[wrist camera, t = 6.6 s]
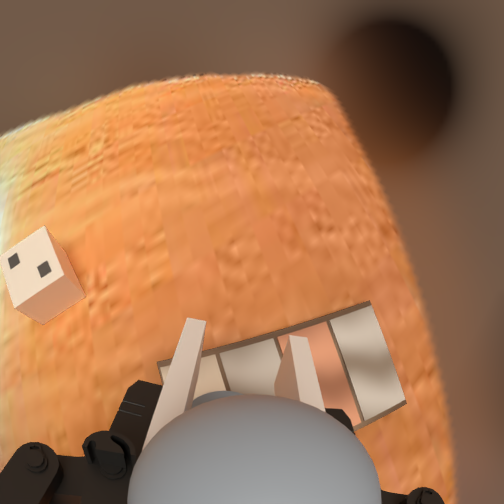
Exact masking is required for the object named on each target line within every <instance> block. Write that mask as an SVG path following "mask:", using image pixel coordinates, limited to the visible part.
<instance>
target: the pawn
mask: <svg viewBox="0 0 504 504" xmlns="http://www.w3.org/2000/svg"><path fill="white" fill-rule="evenodd" d="M127 503H128V504H381V489H380V483H379V478H378V474H377V471H376V469H375V466H374V463H373V461H372V459H371V458H370V456H369V454H368V453H367V451H366V449H365V448H364V446H363V445H362V443H361V442H360V441H359V440H358V438H357V437H356V436H355V435H354V434H353V433H352V432H351V431H350V430H349V429H348V428H347V427H346V426H345V425H343V424H342V423H341V422H339V421H338V420H336V419H335V418H333V417H332V416H331V415H329V414H328V413H326V412H324V411H322V410H320V409H318V408H316V407H314V406H311V405H309V404H306V403H303V402H301V401H297V400H293V399H289V398H285V397H280V396H272V395H259V394H247V395H244V394H241V393H238V392H233V391H214V392H209V393H206V394H203V395H201V396H199V397H197V398H195V399H194V400H193V402H192V407H191V409H189V410H187V411H185V412H184V413H182V414H180V415H179V416H177V417H175V418H174V419H173V420H171V421H170V422H169V423H167V424H166V425H165V426H164V427H162V428H161V429H160V430H159V431H158V432H157V433H156V435H155V436H154V437H153V438H152V439H151V440H150V441H149V443H148V444H147V445H146V447H145V448H144V450H143V451H142V452H141V454H140V456H139V458H138V460H137V462H136V464H135V466H134V468H133V472H132V475H131V478H130V483H129V489H128V497H127Z"/></svg>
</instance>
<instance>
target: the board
mask: <svg viewBox="0 0 504 504" xmlns="http://www.w3.org/2000/svg"><path fill="white" fill-rule="evenodd" d="M289 335H293V336H300V337H307V339H308V343H309V347H310V350H311V354H312V358H313V362H314V366H315V370H316V374H317V378H318V383H319V387H320V391H321V395H322V399H323V403H324V407H325V408H334V409H342V410H343V411H344V412H345V413H346V414H347V416H348V417H349V418H350V419H351V423H352V426H353V429H354V431H356V430H358V429H360V428H362V427H364V426H366V425H368V424H370V423H372V422H374V421H376V420H378V419H380V418H382V417H384V416H386V415H387V414H389V413H391V412H393V411H395V410H397V409H398V408H400V407H402V406H404V405H405V404H407V403H406V400H405V396H404V393H403V390H402V387H401V384H400V381H399V378H398V375H397V372H396V370H395V367H394V364H393V361H392V358H391V355H390V353H389V350H388V347H387V344H386V342H385V339H384V336H383V334H382V331H381V328H380V326H379V323H378V321H377V318H376V315H375V313H374V310H373V308H372V305H371V303H370V300H369V301H366V302H363V303H361V304H358V305H355V306H352V307H349V308H346V309H343V310H341V311H338V312H335V313H332V314H329V315H326V316H323V317H320V318H317V319H313V320H310V321H307V322H304V323H301V324H298V325H294V326H291V327H288V328H285V329H281V330H278V331H275V332H271V333H268V334H264V335H261V336H258V337H254V338H250V339H247V340H243V341H240V342H236V343H232V344H229V345H225V346H221V347H217V348H213V349H209V350H205V351H202V355H201V362H200V370H199V375H198V380H197V384H196V389H195V393H194V398H193V400H194V399H195V398H197V397H199V396H201V395H203V394H206V393H209V392H214V391H233V392H238V393H241V394H244V395H247V394H259V395H272V396H275V393H274V382H275V379H276V376H277V373H278V370H279V367H280V363H281V360H282V357H283V354H284V350H285V347H286V344H287V341H288V337H289ZM172 359H173V358H172ZM172 359H168V360H163V361H159V362H157V365H158V369H159V373H160V376H161V380H162V384H163V385H164V382H165V379H166V376H167V374H168V371H169V368H170V365H171V362H172Z"/></svg>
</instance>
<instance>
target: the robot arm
mask: <svg viewBox="0 0 504 504" xmlns="http://www.w3.org/2000/svg"><path fill="white" fill-rule="evenodd" d="M205 327H206V321H203V320H198V319H192V318H187V320H186V323H185V326H184V329H183V331H182V334H181V337H180V340H179V342H178V345H177V348H176V351H175V354H174V356H173V359H172V362H171V365H170V368H169V371H168V374H167V376H166V379H165V382H164V385H163V386H161V385H157V384H153V383H149V382H145V381H141V380H138V381H137V382H136V383H134V384H133V385H132V386H131V387H129V388H128V390H127V392H126V394H125V396H124V399H123V402H122V403H121V405H120V407H119V411H118V412H117V414H116V416H115V419H114V421H113V423H112V425H111V428H110V430H109V431H99V432H96V433H93V434H91V435H90V436H89V437H87V438H86V439H85V441H84V443H83V445H82V448H83V451H84V454H85V456H84V457H72V456H62V455H56V454H55V452H54V450H52V449H51V448H50V447H49V446H47V445H45V444H42V443H39V442H30V443H27V444H24V445H22V446H21V447H20V448H19V449H17V451H16V452H15V453H14V455H13V456H12V458H11V459H10V460H9V462H8V463H7V465H6V466H5V467H4V469H3V470H2V472H1V473H0V504H128V503H127V497H128V489H129V483H130V478H131V475H132V472H133V468H134V466H135V464H136V462H137V460H138V458H139V456H140V454H141V452H142V451H143V450H144V448H145V447H146V445H147V444H148V443H149V441H150V440H151V439H152V438H153V437H154V436H155V435H156V433H157V432H158V431H159V430H160V429H161V428H162V427H164V426H165V425H166V424H167V423H169V422H170V421H171V420H173V419H174V418H175V417H177V416H179V415H180V414H182V413H184V412H185V411H187V410H189V409H191V407H192V402H193V398H194V393H195V389H196V384H197V380H198V375H199V370H200V362H201V355H202V348H203V341H204V334H205ZM274 393H275V396H280V397H285V398H289V399H293V400H297V401H301V402H303V403H306V404H309V405H311V406H314V407H316V408H318V409H320V410H322V411H324V412H326V413H328V414H329V415H331V416H332V417H333V418H335V419H336V420H338V421H339V422H341V423H342V424H343V425H345V426H346V427H347V428H348V429H349V430H350V431H351V432H352V433H353V434H354V435H355V433H354V429H353V426H352V423H351V419H350V418H349V417H348V416H347V414H346V413H345V412H344V411H343V410H342V409H334V408H325V407H324V403H323V399H322V395H321V391H320V387H319V383H318V378H317V374H316V370H315V366H314V362H313V358H312V354H311V350H310V347H309V343H308V339H307V337H300V336H293V335H289V337H288V341H287V344H286V347H285V350H284V354H283V357H282V360H281V363H280V367H279V370H278V373H277V376H276V379H275V382H274ZM380 489H381V488H380ZM381 504H444V502H443V500H442V498H441V497H440V495H439V494H438V493H437V492H436V491H434V490H433V489H430V488H427V487H421V488H417V489H415V490H413V491H412V492H411V493H410V494H409V495H404V494H397V493H390V492H386V491H383V490H381Z"/></svg>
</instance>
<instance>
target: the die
mask: <svg viewBox="0 0 504 504" xmlns="http://www.w3.org/2000/svg"><path fill="white" fill-rule="evenodd" d="M0 263H1V266H2V270H3V273H4V277H5V280H6V284H7V287H8V290H9V293H10V296H11V299H12V302H13V305H14V308H15V309H16V310H18V311H20V312H21V313H23V314H25V315H26V316H28V317H30V318H32V319H33V320H35V321H37V322H39V323H40V324H42V325H44V324H45V323H47V322H48V321H50V320H51V319H53V318H54V317H56V316H57V315H59V314H60V313H62V312H63V311H65V310H66V309H68V308H69V307H71V306H72V305H74V304H75V303H77V302H79V301H80V300H82V299H83V298H85V297H86V295H85V293H84V291H83V289H82V287H81V285H80V283H79V280H78V278H77V276H76V274H75V272H74V270H73V268H72V265H71V263H70V261H69V259H68V256H67V254H66V252H65V251H64V250H63V248H62V247H61V246H60V245H59V243H58V242H57V241H56V239H55V238H54V237H53V236H52V234H51V233H50V232H49V230H48V229H47V228H46V226H45V225H44V226H43V227H41V228H40V229H38V230H37V231H35V232H34V233H32V234H31V235H29V236H28V237H26V238H25V239H23V240H22V241H20V242H19V243H18V244H16V245H15V246H13V247H12V248H10V249H9V250H8V251H6V252H5V253H3V254H2V255H1V256H0Z"/></svg>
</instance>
